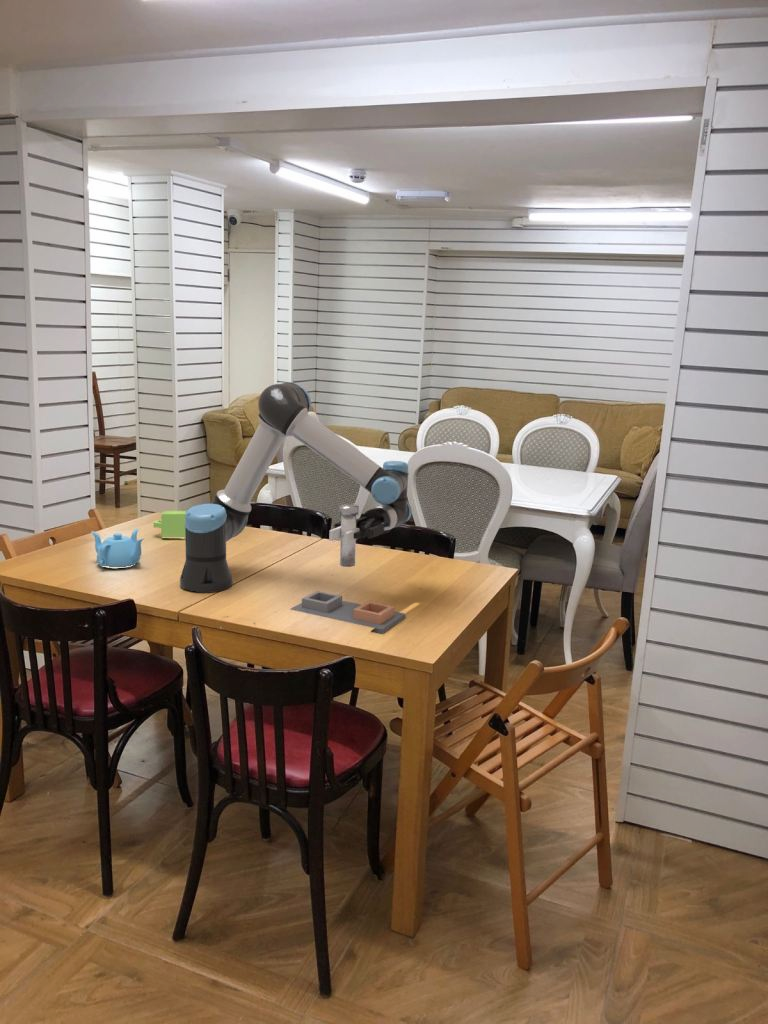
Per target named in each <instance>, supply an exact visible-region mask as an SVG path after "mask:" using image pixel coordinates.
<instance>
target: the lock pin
mask: <svg viewBox="0 0 768 1024" xmlns="http://www.w3.org/2000/svg"><path fill="white" fill-rule="evenodd" d="M338 511H339V512H338V513H339V515H340V518H341V519H340V521H341V537H340V555H339V565H340V566H341V567H343V568H344V567H346V568H351V567H355V566H356V545H357V544H356V542H357V540H354V541H352V542H350V543H345V533H346V532H349V531H351V530H354V529H356V519H357V516H358V515H359V505H357V504H352V503H350V504H348V503H347V504H346V503H345V504H341V505H339V510H338Z"/></svg>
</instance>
